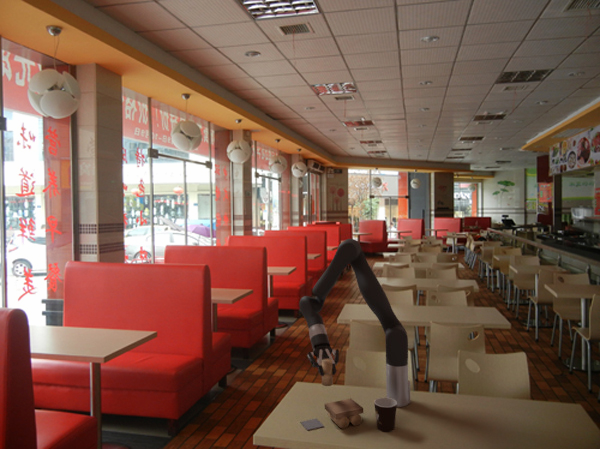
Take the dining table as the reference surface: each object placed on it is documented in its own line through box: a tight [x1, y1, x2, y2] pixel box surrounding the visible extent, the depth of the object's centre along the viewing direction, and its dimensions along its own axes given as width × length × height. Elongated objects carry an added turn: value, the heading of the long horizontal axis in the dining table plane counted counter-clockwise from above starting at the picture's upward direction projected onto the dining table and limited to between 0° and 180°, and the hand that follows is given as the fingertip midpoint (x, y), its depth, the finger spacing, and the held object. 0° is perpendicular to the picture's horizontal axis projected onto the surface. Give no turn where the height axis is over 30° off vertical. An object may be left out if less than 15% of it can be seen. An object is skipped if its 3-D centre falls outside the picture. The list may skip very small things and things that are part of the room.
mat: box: [300, 417, 325, 431], centre depth 182 cm, size 7×7×1 cm
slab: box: [324, 398, 364, 430], centre depth 184 cm, size 12×10×6 cm
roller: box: [321, 358, 334, 387], centre depth 191 cm, size 4×4×10 cm
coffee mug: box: [373, 397, 398, 433], centre depth 180 cm, size 12×9×10 cm
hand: (328, 374), depth 189 cm, fingers closed on roller, 4 cm apart
